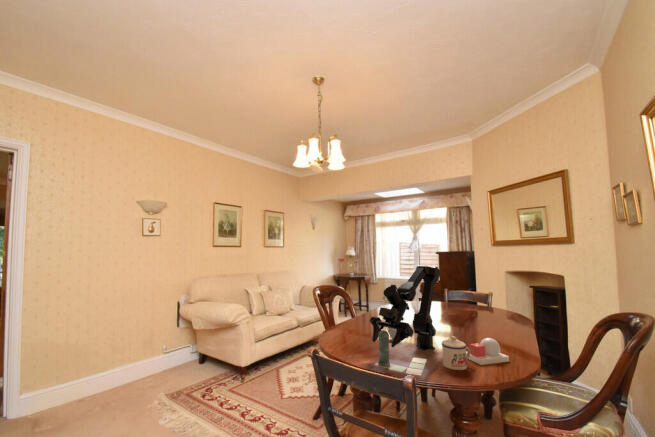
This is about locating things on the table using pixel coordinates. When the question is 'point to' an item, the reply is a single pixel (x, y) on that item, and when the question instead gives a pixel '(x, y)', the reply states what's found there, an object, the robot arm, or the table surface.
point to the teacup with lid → (455, 354)
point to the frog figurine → (392, 332)
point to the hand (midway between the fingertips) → (382, 344)
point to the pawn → (383, 349)
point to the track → (412, 365)
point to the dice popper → (487, 352)
